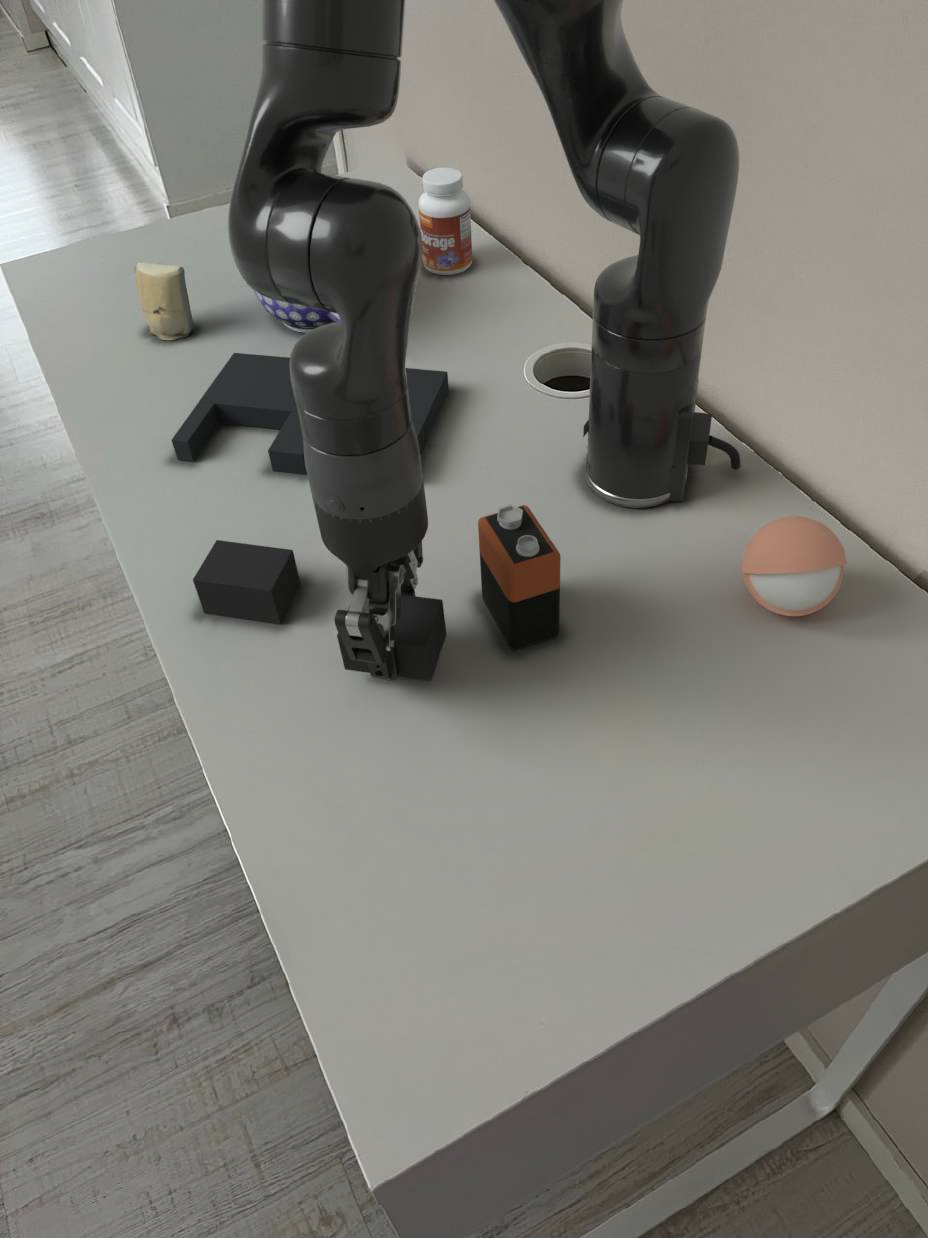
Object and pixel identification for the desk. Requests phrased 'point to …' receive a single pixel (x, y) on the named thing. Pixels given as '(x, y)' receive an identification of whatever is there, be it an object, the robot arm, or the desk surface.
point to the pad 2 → (411, 638)
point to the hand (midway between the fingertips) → (395, 647)
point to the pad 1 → (247, 581)
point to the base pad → (284, 408)
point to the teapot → (297, 314)
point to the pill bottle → (445, 222)
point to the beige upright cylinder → (164, 300)
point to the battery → (519, 575)
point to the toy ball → (793, 565)
